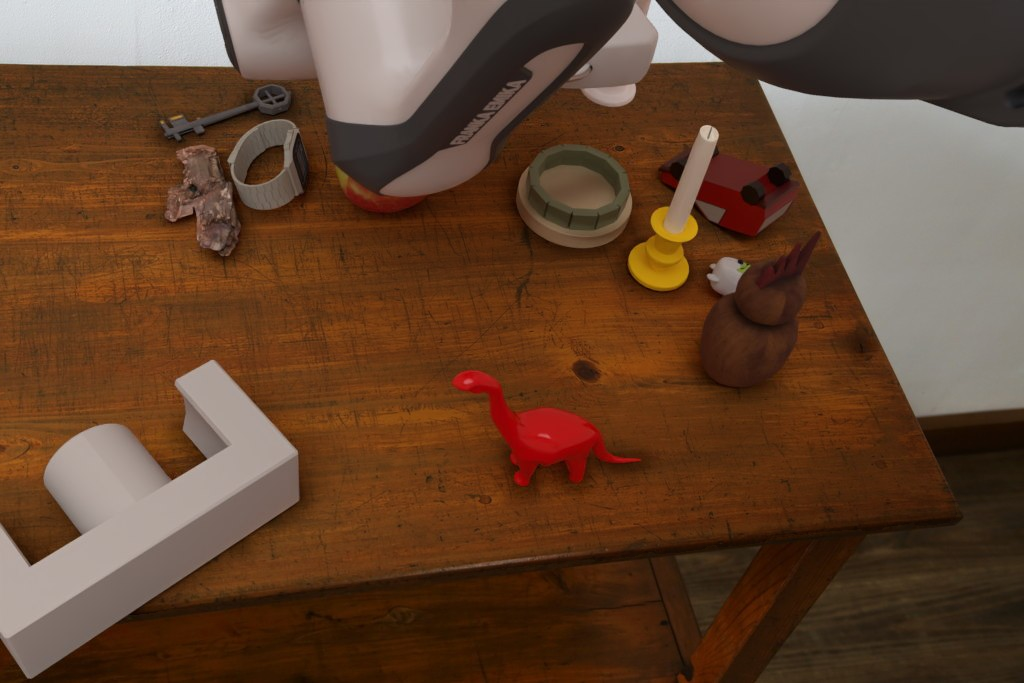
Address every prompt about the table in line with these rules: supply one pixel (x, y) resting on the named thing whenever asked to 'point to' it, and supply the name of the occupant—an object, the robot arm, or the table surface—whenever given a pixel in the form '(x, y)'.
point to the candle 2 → (674, 224)
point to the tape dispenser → (142, 518)
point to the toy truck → (738, 191)
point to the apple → (373, 196)
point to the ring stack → (575, 196)
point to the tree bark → (205, 199)
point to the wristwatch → (288, 179)
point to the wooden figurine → (756, 320)
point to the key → (231, 111)
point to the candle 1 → (617, 93)
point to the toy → (731, 277)
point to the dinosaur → (539, 432)
